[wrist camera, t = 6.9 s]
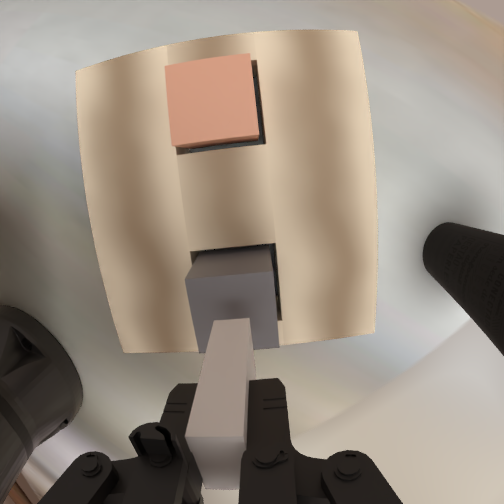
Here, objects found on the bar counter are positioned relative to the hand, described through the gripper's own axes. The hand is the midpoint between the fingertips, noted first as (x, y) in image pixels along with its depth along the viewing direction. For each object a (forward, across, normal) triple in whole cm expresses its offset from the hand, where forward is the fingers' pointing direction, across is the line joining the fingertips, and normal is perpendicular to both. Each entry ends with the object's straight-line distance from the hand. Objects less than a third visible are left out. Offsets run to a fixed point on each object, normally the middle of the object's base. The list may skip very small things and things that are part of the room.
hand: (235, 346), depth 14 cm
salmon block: (+9, 0, +11) cm, 14 cm away
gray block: (+8, 0, 0) cm, 8 cm away
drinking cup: (+11, +17, 0) cm, 20 cm away
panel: (+11, 0, +6) cm, 12 cm away
